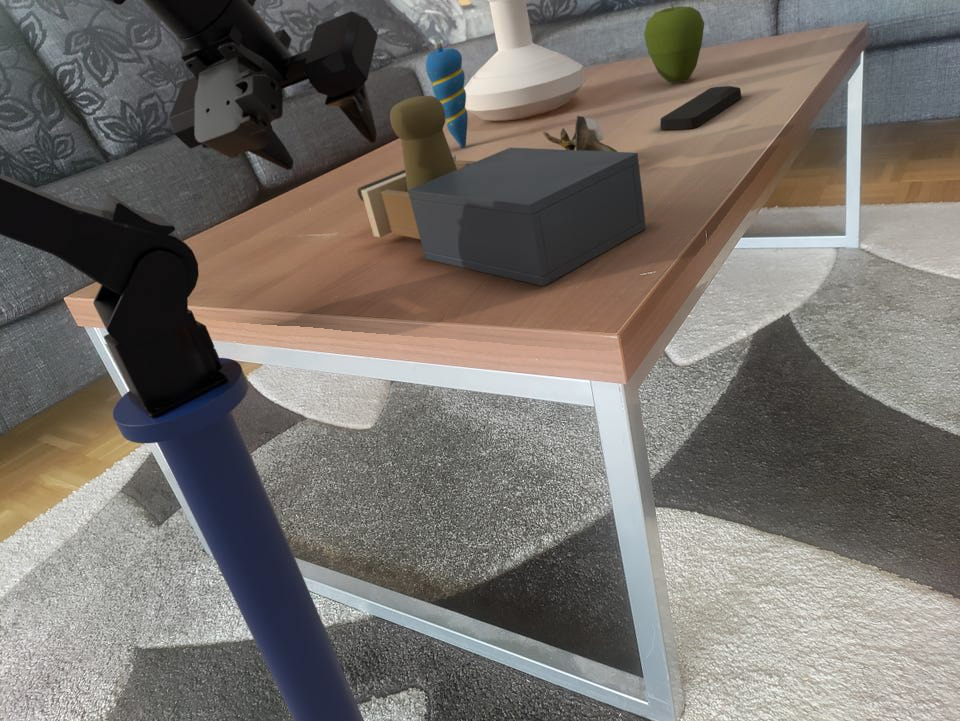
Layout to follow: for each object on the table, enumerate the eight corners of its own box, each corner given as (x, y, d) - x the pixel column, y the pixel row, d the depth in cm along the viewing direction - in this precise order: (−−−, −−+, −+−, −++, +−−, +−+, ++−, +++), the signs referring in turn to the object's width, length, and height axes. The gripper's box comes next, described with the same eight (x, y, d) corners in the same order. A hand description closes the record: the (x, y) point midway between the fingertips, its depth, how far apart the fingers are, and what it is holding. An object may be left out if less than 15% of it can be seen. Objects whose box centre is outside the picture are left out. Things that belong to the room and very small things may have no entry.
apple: (639, 90, 119) (630, 12, 114) (670, 77, 123) (664, 1, 118) (686, 88, 113) (680, 5, 107) (717, 74, 117) (713, -7, 112)
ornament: (487, 142, 109) (464, 31, 102) (462, 153, 106) (437, 40, 99) (462, 142, 112) (438, 35, 105) (437, 153, 109) (412, 44, 102)
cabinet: (425, 259, 70) (407, 190, 67) (522, 212, 76) (510, 147, 73) (543, 286, 58) (528, 204, 55) (646, 228, 65) (637, 152, 62)
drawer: (349, 231, 80) (336, 187, 78) (432, 195, 86) (422, 153, 83) (463, 255, 66) (450, 202, 63) (553, 210, 71) (545, 160, 69)
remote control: (695, 133, 91) (743, 96, 100) (694, 118, 90) (743, 82, 99) (658, 134, 94) (708, 98, 103) (656, 120, 93) (707, 85, 102)
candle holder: (563, 120, 111) (540, -24, 102) (446, 134, 120) (416, 4, 111) (604, 89, 126) (587, -39, 117) (497, 104, 135) (474, -13, 126)
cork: (419, 226, 72) (389, 109, 67) (404, 213, 77) (375, 104, 72) (478, 208, 73) (452, 92, 68) (459, 196, 78) (434, 88, 73)
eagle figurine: (532, 167, 86) (565, 164, 78) (550, 105, 85) (585, 95, 77) (589, 187, 89) (627, 186, 80) (607, 127, 88) (647, 120, 79)
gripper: (83, 124, 56) (231, 247, 67) (279, 43, 47) (408, 198, 59) (130, 24, 61) (259, 154, 73) (314, -65, 53) (425, 98, 65)
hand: (331, 153), depth 67 cm, fingers open, 9 cm apart
